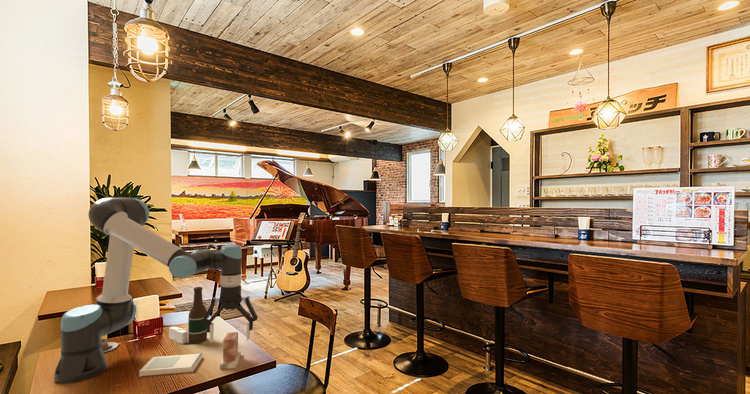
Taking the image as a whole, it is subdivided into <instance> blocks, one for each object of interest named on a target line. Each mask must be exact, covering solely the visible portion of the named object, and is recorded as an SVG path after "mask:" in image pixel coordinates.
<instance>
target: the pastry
mask: <svg viewBox="0 0 750 394" xmlns="http://www.w3.org/2000/svg"><path fill="white" fill-rule="evenodd" d="M110 347H111V348H110ZM118 347H119V343H118V342H113V341H110V342H109V341H108V340H107V339H106V338H101V348H102V351H103V353H104V354H105V353H107V352H111V351H113V350H114V349H117V348H118Z"/></svg>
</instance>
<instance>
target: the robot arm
mask: <svg viewBox="0 0 750 394" xmlns="http://www.w3.org/2000/svg"><path fill="white" fill-rule="evenodd" d="M149 218H150V209H149V207H148V205H147V204H146V203H145V202H144V201H143V200H141V199H139V198H136V197H103V198H100V199H98V200H96V201H95V202H94V203H92V205H91V206H90V208H89V210H88V220H89V222H90V224H91V225H92V226H93V227H94V228H96V230H98V231H100V232H101V233H103V234H105V235H106V236H109V240H108V241H109V242H108V247H107V248H108V249H107V255H106V256H107V257H106V263H105V270H104V276H103V278H104V279H103V283H102V284H103V285H102V291H101V294H100V295H98V296H97V297H96V300H95V301H96V302H95V304H85V305H83V306H78V307H74V308H72V309H70V310H67V311H65V312H64V314H63V315H62V316H61V322H60V326H59V327H60V358H59V359H58V362H57V364H56V366H55V367H56V368H55V370H54V373H53V381H54V380H55V381H54V382H56V381H57V382H56V383H58V382H62V383H61V384H68V383H69V382H71V383H77V382H81V380H82V381H84V380H89V379H92V378H95V377H96V376H99V375H101V374H102V373H103V372H105V371H106V370H107V368H108V360H107V358H106V355H105V353H103V351H102V348H101V339H102V337H105V336H106V335H109V334H111V333H113V332H115V331H119V330H121V329H124V328H125V327H126V326H128V325H130V324H131V323H132V322H133V320H134V319H135V317H136V314H137V306H136V304H135V301H134V300H133V299H132V298H133V297H132V295H131V294H129V287H130V279H131V271H132V265H133V257H134V249H137V250H138V251H140V252H142V253H143V254H145V255H147V256H149V257H150V258H153V259H154V260H156V261H158V262H159V263H161V264H163V265H164V266H166V267H168V271H169V273H170V274H171V276H173V277H174V278H177V279H182V278H188V277H191V276H193V275H196V274H198V273H201V272H205V271H208V270H217V271H219V270H220V285H221V286H220V297H219V298H217V297H215V296H214V297H213V298H212V299H211V300H210V306H209V307H208V310H207V313H206V315H205V316H204V318H203V320H202V323H206V324H207V334H209V343H213V341H214V336H215V335H214V329H215V328H214V326H215V323H214V322H213V321H214V320H215V319H216V318H217V317H218V316H219V314H220V313H221V312H222V311H223V310H224V309H225V310H226V311H228V310H237V311H238V312H239V313H241V314H242V316H243V317H244V318H245V320H247V322H246V340H247V341H249V340H250V338H251V331H253V329H254V322H257V320H258V318H259V316H258V314H257V313H256V311H255V309H254V306H253V305H252V302H251V298H250V296H249V295H247V296H246V297H245V296H244V297H242V285H241V284H242V261H243V260H242V258H243V256H242V255H243V254H242V253H243V251H242V246H240V245H238V244H227V245H226V244H225V245H222V246H221V249H220V250H215V249H194V250H193V251H192V252H191V253H190V252H187V251H186V250H184V249H183V248H181V247H179V246H177V245H175V244H174V243H172V242H171V241H168V240H167V239H165V238H164V237H162V236H160V235H159V234H157V233H155V232H153V231H152V230H150V229H148V228H146V227H145V226H143V225H145V224H146V223H147V222H148V220H149ZM218 302H219V304H220V307H219V308H218V309H217V310H216V312H215V313H214V314H213V315H212V316H211V317H210V318H209V316H210V315H211V313H212V311H213V309H214V307H215V306H216V304H218ZM242 302H243V303H244V304H245V305H246V307H247V309H248V311H247V310H246V309H245V308H244V307H243V305H242V304H241V303H242ZM249 313H250V314H249Z"/></svg>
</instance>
